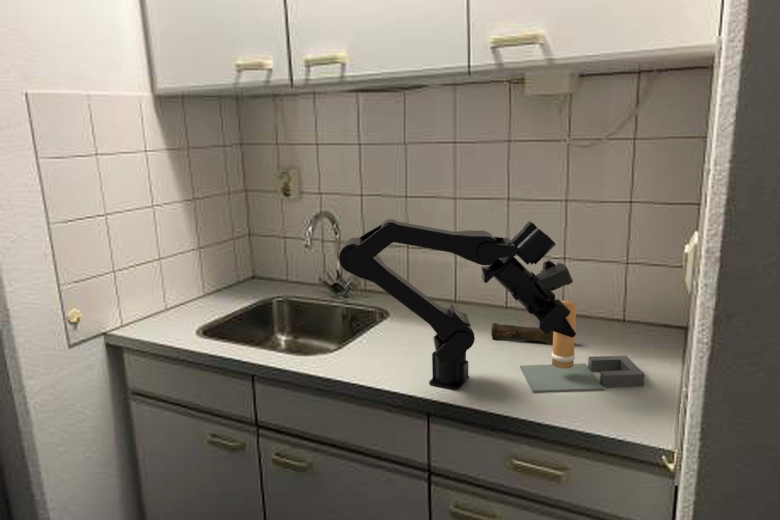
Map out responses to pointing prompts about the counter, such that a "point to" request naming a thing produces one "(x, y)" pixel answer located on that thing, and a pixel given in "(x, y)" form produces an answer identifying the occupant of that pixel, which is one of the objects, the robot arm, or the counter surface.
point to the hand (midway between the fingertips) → (570, 331)
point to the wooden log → (521, 333)
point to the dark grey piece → (616, 371)
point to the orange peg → (565, 342)
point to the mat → (560, 378)
